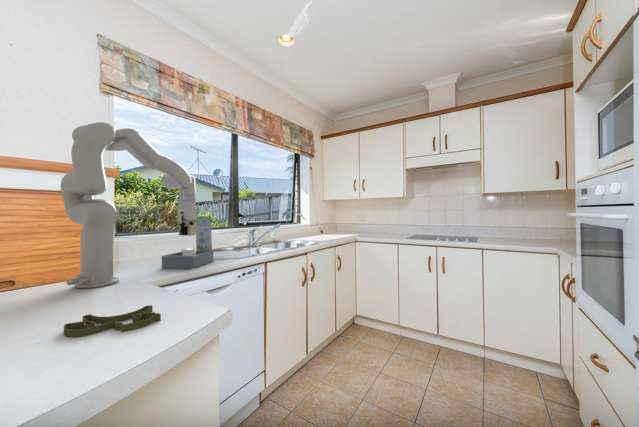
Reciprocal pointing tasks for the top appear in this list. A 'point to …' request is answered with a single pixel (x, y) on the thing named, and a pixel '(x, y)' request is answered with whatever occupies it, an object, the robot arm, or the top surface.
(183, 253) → the steel tin
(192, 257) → the tote
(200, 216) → the snack box
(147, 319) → the cookie cutter
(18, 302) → the top surface
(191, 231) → the kraft carton
